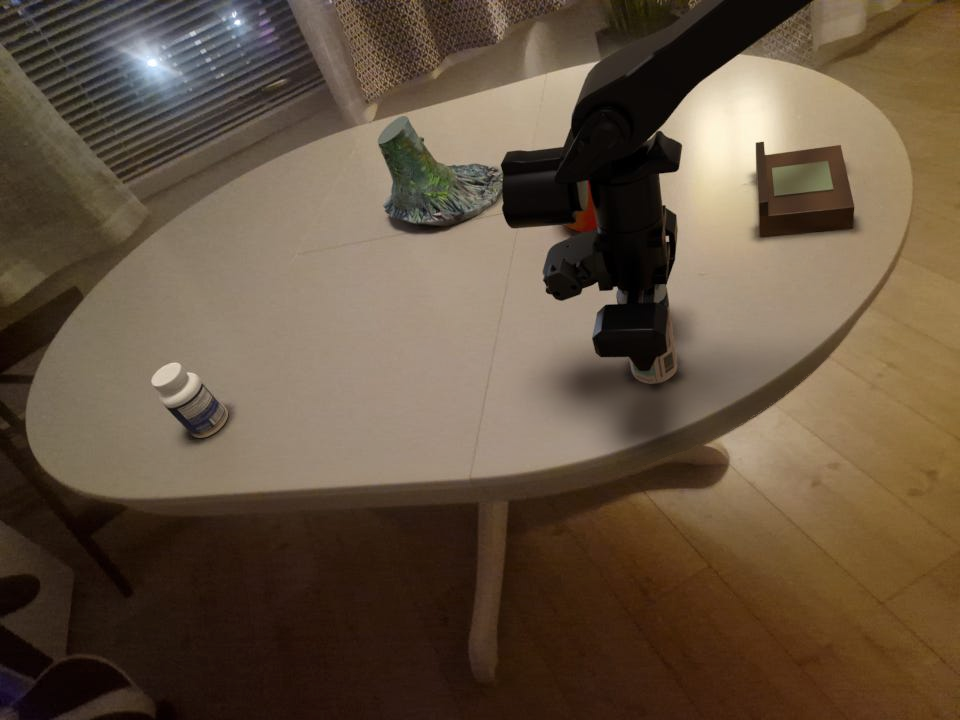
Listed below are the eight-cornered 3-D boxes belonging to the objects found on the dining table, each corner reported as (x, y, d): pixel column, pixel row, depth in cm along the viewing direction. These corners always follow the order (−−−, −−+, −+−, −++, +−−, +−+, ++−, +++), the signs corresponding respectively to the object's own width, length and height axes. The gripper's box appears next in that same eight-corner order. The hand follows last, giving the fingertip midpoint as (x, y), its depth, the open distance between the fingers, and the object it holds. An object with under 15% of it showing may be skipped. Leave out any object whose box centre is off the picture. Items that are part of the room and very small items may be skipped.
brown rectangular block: (839, 165, 85) (841, 130, 82) (852, 228, 76) (856, 191, 72) (756, 175, 89) (755, 142, 85) (759, 237, 80) (759, 202, 76)
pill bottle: (189, 423, 88) (143, 374, 81) (224, 401, 89) (182, 351, 82) (195, 446, 84) (148, 397, 77) (233, 423, 85) (189, 372, 78)
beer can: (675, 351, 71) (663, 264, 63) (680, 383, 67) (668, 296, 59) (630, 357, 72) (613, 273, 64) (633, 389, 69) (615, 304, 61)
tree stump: (519, 206, 102) (459, 115, 90) (415, 271, 107) (346, 192, 95) (496, 154, 115) (441, 68, 103) (405, 213, 120) (342, 138, 108)
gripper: (557, 168, 65) (583, 287, 76) (518, 289, 53) (556, 410, 64) (671, 154, 61) (682, 281, 72) (657, 281, 49) (673, 411, 60)
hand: (647, 341), depth 67 cm, fingers closed on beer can, 8 cm apart
